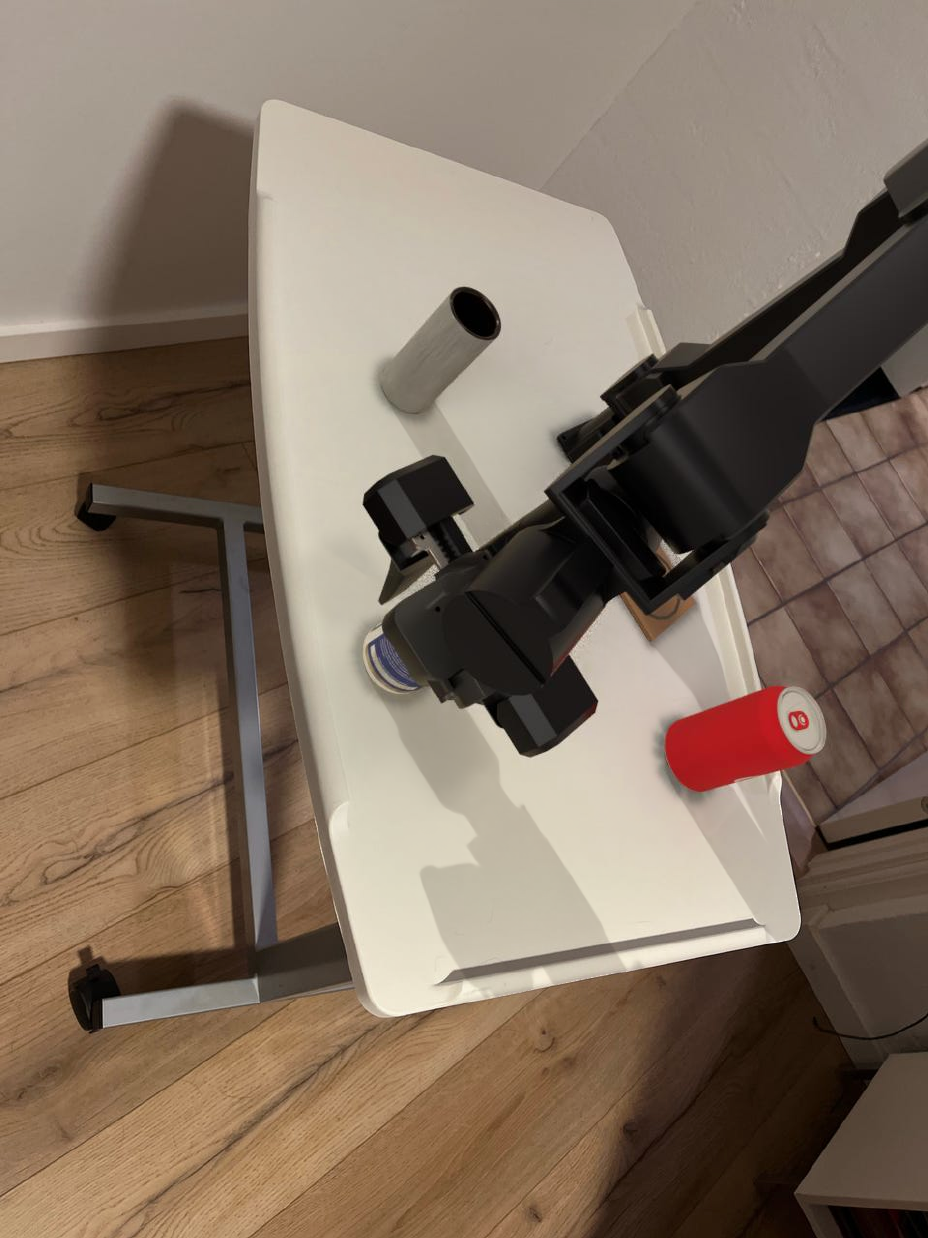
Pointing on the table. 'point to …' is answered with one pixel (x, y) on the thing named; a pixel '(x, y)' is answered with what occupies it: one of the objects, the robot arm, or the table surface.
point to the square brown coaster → (665, 613)
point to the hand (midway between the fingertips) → (413, 647)
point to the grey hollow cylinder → (441, 350)
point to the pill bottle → (386, 664)
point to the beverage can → (745, 738)
